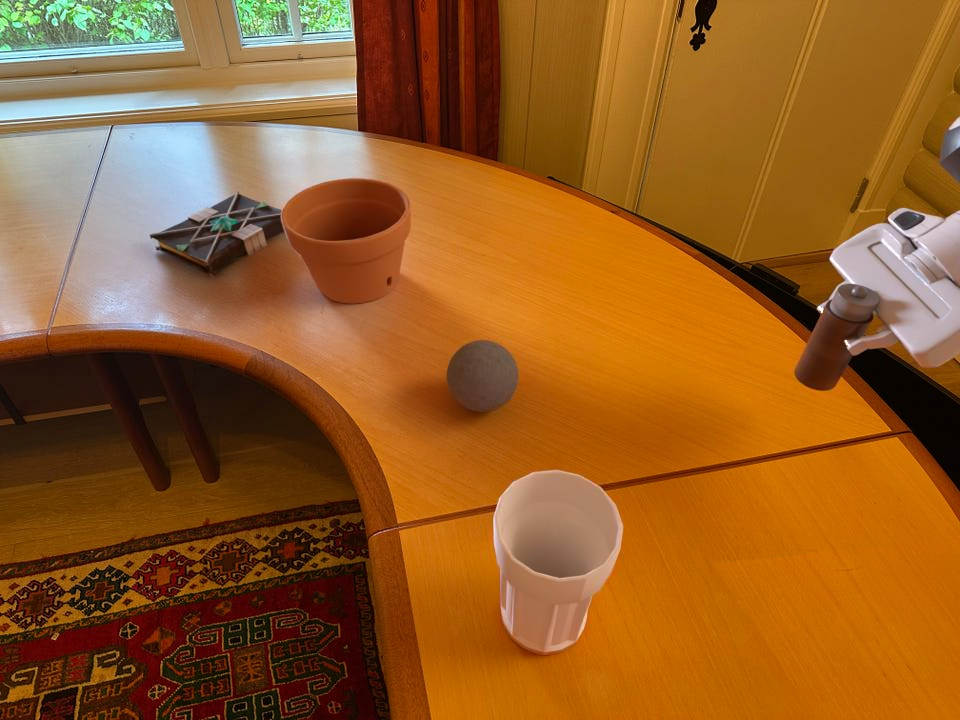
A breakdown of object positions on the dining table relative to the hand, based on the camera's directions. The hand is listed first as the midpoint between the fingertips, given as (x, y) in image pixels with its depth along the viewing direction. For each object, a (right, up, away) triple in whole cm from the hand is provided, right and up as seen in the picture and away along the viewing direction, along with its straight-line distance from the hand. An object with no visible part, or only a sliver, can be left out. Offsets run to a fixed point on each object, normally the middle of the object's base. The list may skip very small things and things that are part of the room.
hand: (833, 331), depth 74 cm
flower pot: (-65, +11, +35) cm, 75 cm away
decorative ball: (-43, -10, +13) cm, 46 cm away
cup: (-37, -31, -9) cm, 49 cm away
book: (-93, +20, +46) cm, 106 cm away
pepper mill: (+1, -6, +5) cm, 8 cm away
